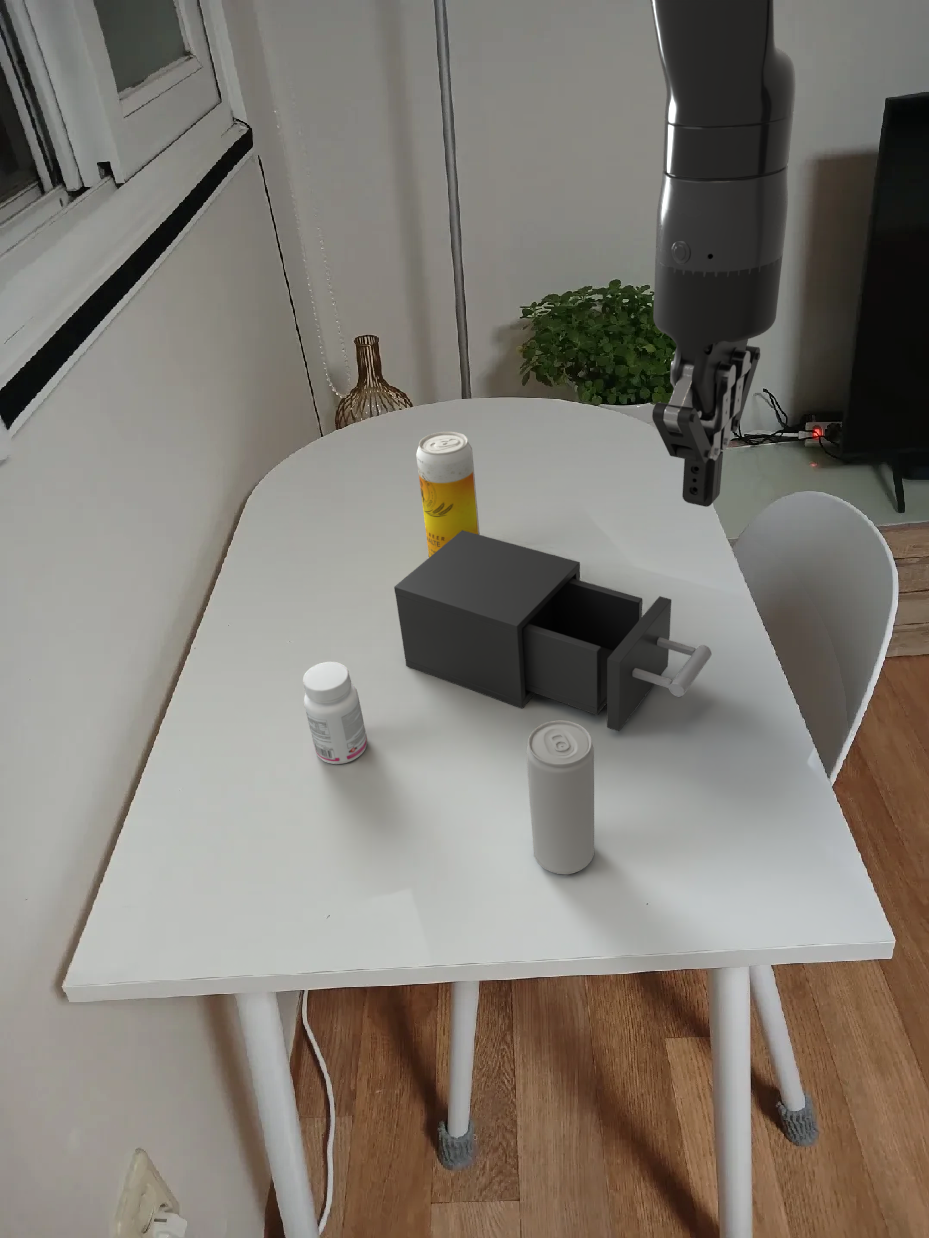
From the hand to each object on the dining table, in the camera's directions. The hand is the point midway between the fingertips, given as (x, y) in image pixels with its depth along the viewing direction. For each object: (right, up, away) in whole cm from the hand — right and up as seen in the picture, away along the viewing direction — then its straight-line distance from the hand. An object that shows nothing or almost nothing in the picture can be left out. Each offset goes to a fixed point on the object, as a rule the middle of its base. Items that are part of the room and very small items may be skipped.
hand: (700, 499), depth 68 cm
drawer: (-3, -15, +21) cm, 26 cm away
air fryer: (-14, -12, +28) cm, 34 cm away
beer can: (-18, -2, +43) cm, 47 cm away
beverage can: (-9, -27, +7) cm, 29 cm away
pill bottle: (-28, -20, +19) cm, 39 cm away
